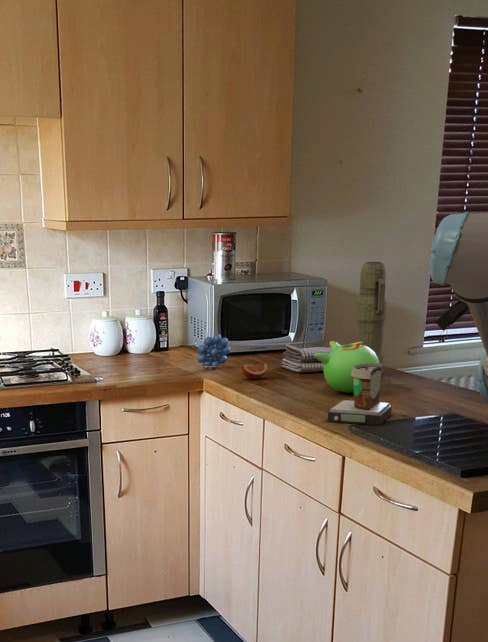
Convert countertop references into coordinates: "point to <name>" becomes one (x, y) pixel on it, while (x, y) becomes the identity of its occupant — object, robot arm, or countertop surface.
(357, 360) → the toy bird
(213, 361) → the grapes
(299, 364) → the towel
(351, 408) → the kitchen scale
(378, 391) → the food container
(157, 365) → the countertop surface
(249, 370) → the fruit slice
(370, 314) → the thermos
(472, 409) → the countertop surface
